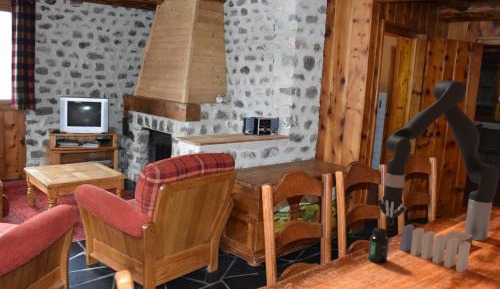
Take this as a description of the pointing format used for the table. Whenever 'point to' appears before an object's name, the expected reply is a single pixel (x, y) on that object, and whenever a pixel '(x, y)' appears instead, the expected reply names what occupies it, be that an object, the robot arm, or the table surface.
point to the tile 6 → (463, 256)
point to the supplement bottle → (378, 246)
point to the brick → (459, 237)
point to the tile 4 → (439, 248)
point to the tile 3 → (428, 245)
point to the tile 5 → (451, 252)
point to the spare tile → (406, 238)
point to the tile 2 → (417, 241)
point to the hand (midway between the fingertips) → (389, 224)
